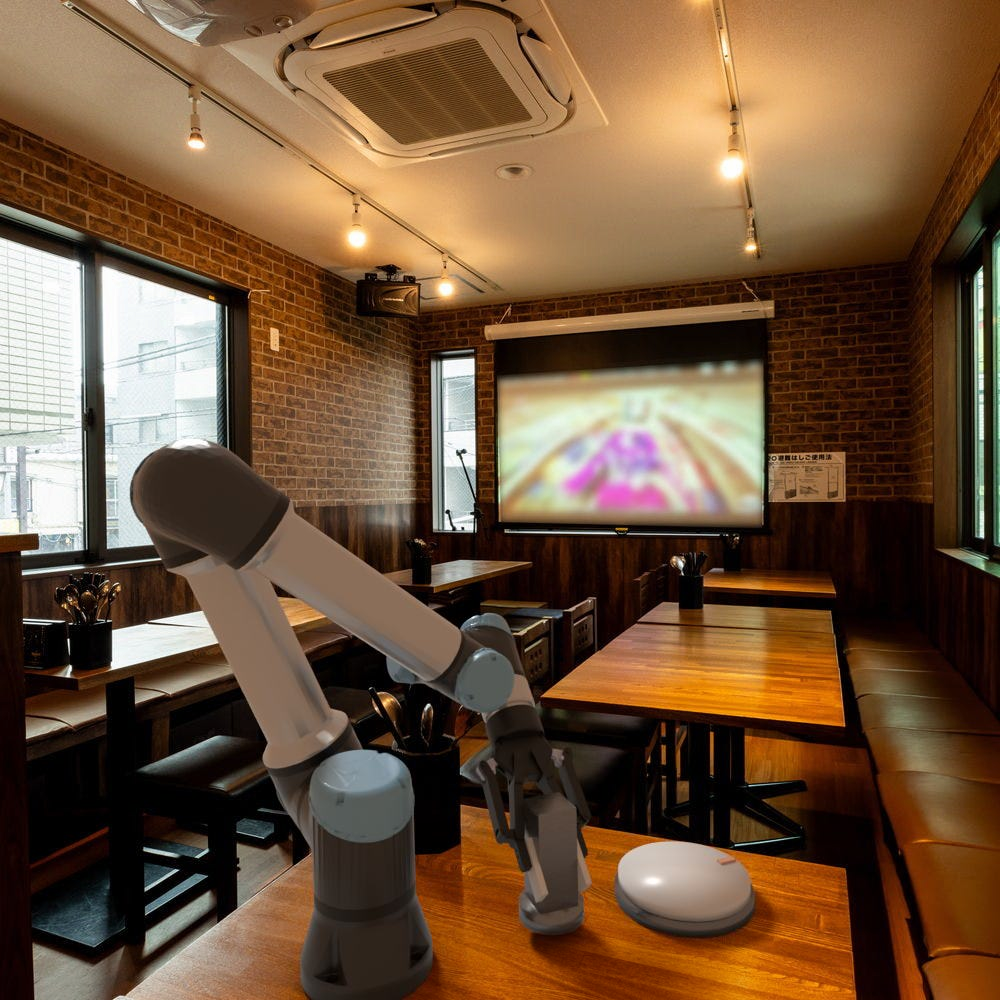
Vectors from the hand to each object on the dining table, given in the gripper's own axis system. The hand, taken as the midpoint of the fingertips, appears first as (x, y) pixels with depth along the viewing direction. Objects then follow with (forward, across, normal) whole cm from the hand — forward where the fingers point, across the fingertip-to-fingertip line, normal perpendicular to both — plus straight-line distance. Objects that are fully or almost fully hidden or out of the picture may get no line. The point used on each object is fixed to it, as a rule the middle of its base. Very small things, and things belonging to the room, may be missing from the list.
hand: (564, 892), depth 88 cm
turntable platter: (+1, -19, -6) cm, 20 cm away
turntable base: (+2, -19, -7) cm, 21 cm away
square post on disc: (+1, 0, -6) cm, 6 cm away
